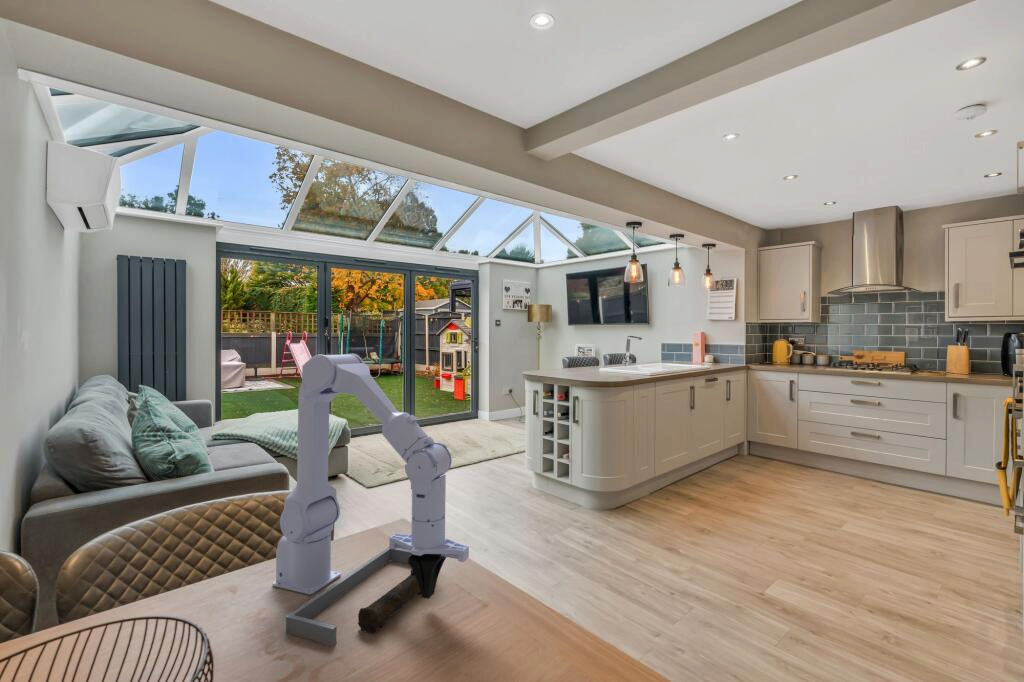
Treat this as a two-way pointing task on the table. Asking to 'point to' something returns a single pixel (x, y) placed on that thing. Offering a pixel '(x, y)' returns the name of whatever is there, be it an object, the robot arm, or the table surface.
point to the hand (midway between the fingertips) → (427, 595)
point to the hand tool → (388, 604)
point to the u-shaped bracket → (326, 633)
